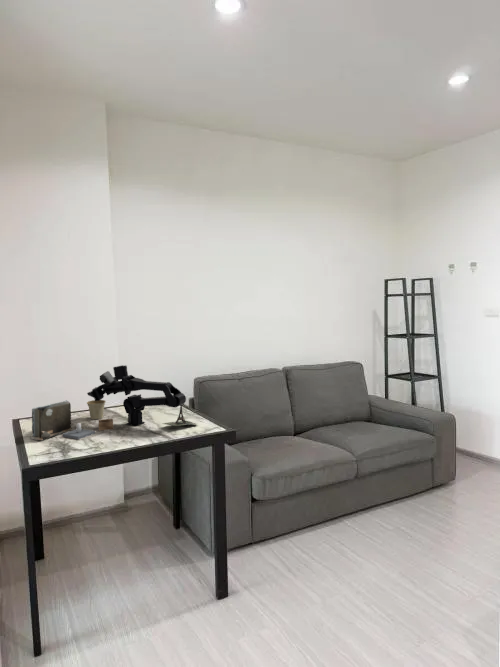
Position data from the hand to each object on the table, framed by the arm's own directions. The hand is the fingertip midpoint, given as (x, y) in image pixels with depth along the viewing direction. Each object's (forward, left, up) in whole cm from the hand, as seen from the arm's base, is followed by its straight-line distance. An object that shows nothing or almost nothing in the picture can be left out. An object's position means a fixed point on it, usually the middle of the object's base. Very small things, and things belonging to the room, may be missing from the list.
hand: (93, 390), depth 245 cm
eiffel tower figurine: (-48, -9, -14) cm, 51 cm away
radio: (-1, +27, -16) cm, 31 cm away
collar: (-17, +9, -15) cm, 25 cm away
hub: (-14, +23, -15) cm, 31 cm away
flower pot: (+1, -3, -15) cm, 16 cm away
